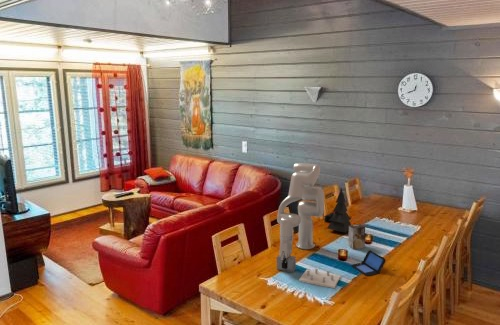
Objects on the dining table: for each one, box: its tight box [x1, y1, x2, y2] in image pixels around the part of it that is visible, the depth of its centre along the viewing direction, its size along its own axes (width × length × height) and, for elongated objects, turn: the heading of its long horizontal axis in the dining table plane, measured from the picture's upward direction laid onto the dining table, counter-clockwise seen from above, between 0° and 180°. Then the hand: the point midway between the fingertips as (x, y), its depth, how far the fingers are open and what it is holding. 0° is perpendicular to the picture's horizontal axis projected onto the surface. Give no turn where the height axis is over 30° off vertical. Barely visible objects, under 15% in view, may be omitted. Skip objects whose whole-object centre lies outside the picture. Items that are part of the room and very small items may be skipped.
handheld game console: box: [351, 249, 386, 277], centre depth 235 cm, size 16×13×9 cm
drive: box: [276, 254, 297, 273], centre depth 236 cm, size 5×10×8 cm, turn 65°
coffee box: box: [347, 223, 366, 250], centre depth 266 cm, size 9×6×16 cm
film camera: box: [323, 212, 335, 224], centre depth 320 cm, size 15×10×9 cm, turn 91°
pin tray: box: [298, 268, 341, 289], centre depth 224 cm, size 14×20×4 cm
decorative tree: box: [326, 187, 352, 233], centre depth 294 cm, size 15×15×35 cm
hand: (286, 266), depth 237 cm, fingers closed on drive, 5 cm apart
